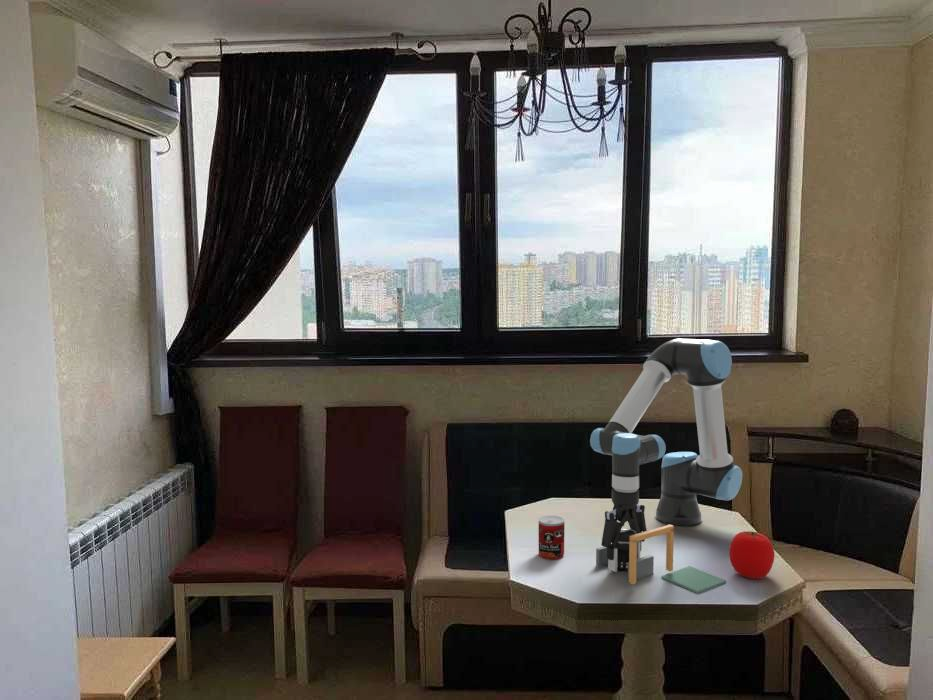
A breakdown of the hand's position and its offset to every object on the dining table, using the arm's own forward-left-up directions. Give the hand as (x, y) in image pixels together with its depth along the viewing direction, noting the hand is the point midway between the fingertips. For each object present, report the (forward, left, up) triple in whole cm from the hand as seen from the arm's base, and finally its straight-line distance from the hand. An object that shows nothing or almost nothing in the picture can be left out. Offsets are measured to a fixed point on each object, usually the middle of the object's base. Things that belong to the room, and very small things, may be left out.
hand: (624, 566), depth 196 cm
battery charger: (0, 0, -1) cm, 1 cm away
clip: (0, 0, -1) cm, 1 cm away
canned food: (+10, -20, -1) cm, 22 cm away
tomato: (-26, +23, -1) cm, 35 cm away
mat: (-10, +16, -1) cm, 19 cm away
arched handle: (0, +10, +1) cm, 10 cm away
